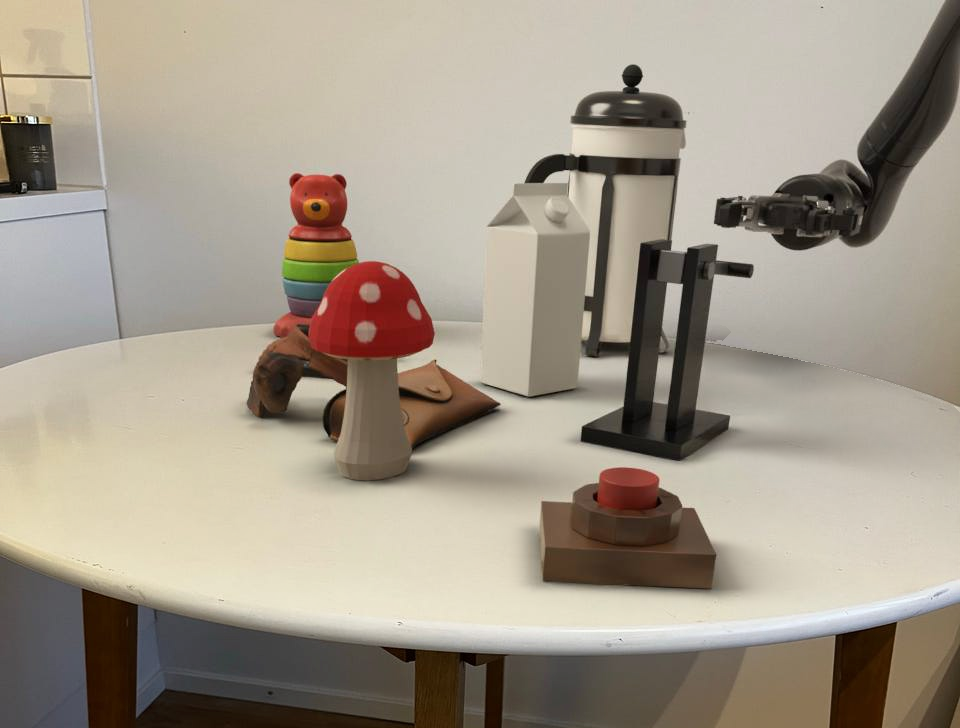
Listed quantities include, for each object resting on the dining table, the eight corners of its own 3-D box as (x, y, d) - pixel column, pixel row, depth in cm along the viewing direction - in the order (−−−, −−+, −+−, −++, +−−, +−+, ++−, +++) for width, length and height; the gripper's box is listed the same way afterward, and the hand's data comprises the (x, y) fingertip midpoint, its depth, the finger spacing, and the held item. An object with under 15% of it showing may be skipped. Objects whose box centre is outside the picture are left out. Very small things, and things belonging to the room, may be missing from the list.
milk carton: (479, 384, 104) (487, 180, 95) (528, 375, 108) (540, 180, 99) (528, 398, 99) (541, 186, 90) (577, 389, 104) (595, 185, 95)
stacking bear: (270, 337, 121) (261, 173, 113) (287, 322, 130) (280, 169, 122) (360, 341, 121) (358, 177, 112) (371, 326, 130) (370, 173, 121)
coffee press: (564, 329, 133) (584, 66, 119) (683, 343, 127) (718, 69, 113) (510, 351, 119) (524, 57, 105) (640, 368, 113) (674, 59, 99)
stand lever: (697, 279, 95) (701, 251, 94) (751, 285, 92) (756, 257, 91) (638, 279, 83) (642, 248, 83) (698, 286, 81) (703, 254, 80)
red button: (652, 495, 64) (655, 468, 63) (660, 515, 60) (663, 487, 60) (594, 492, 64) (597, 465, 63) (599, 512, 60) (602, 484, 60)
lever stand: (636, 412, 96) (656, 233, 89) (728, 429, 92) (756, 243, 85) (580, 441, 87) (597, 243, 80) (679, 460, 83) (706, 255, 76)
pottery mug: (264, 398, 97) (305, 322, 95) (344, 453, 96) (387, 377, 94) (203, 393, 86) (248, 306, 83) (293, 456, 85) (342, 370, 83)
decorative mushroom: (381, 497, 72) (380, 275, 65) (287, 474, 76) (276, 261, 69) (455, 463, 80) (461, 261, 73) (366, 443, 84) (363, 250, 77)
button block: (690, 539, 67) (698, 481, 65) (711, 589, 60) (721, 525, 58) (539, 532, 67) (543, 474, 65) (542, 581, 60) (547, 517, 58)
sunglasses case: (410, 450, 81) (373, 371, 79) (347, 480, 85) (310, 405, 83) (506, 403, 95) (475, 336, 94) (448, 431, 99) (418, 367, 98)
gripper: (754, 169, 113) (703, 173, 101) (886, 178, 107) (848, 183, 95) (744, 241, 117) (693, 253, 104) (870, 253, 110) (832, 268, 98)
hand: (767, 219), depth 99 cm, fingers open, 8 cm apart
